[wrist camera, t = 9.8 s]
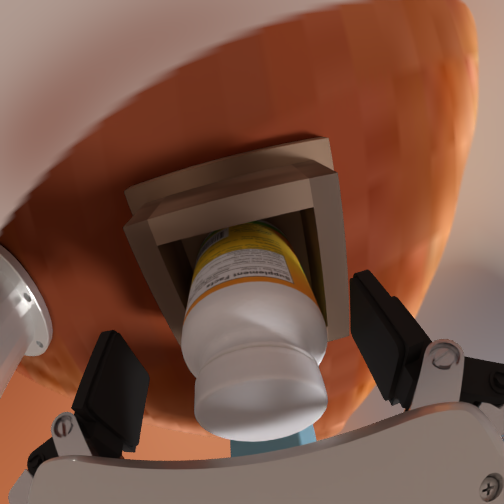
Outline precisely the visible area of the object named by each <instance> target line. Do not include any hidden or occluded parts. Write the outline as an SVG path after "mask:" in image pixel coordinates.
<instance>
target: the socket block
mask: <svg viewBox="0 0 504 504" xmlns="http://www.w3.org/2000/svg"><path fill="white" fill-rule="evenodd" d="M124 194H125V196H126V199H127V202H128V205H129V207H130V210H131V213H132V215H133V217H132V218H131V219H130V220H129V221H128V222H127V223H126V224H125V226H124V227H123V230H124V232H125V235H126V237H127V239H128V242H129V244H130V246H131V249H132V251H133V253H134V256H135V258H136V260H137V262H138V264H139V267H140V269H141V271H142V273H143V275H144V277H145V279H146V282H147V284H148V286H149V288H150V290H151V292H152V294H153V296H154V298H155V300H156V302H157V304H158V306H159V308H160V310H161V312H162V314H163V315H164V317H165V319H166V321H167V323H168V325H169V327H170V329H171V330H172V332H173V334H174V336H175V338H176V339H177V341H178V343H179V345H180V346H181V339H182V329H183V322H184V318H185V313H186V308H187V303H188V298H189V293H190V288H191V283H192V278H193V273H194V269H195V264H196V260H197V256H198V252H199V250H200V247H201V245H202V243H203V241H204V240H205V238H206V237H207V236H208V235H209V233H210V232H212V231H215V230H219V229H223V228H227V227H231V226H235V225H239V224H243V223H248V222H252V221H256V220H263V221H266V222H268V223H270V224H272V225H274V226H275V227H277V228H278V229H279V230H281V231H282V232H283V233H284V235H285V236H286V237H287V239H288V240H289V242H290V244H291V245H292V247H293V249H294V252H295V254H296V256H297V258H298V260H299V263H300V265H301V267H302V269H303V272H304V274H305V276H306V278H307V281H308V283H309V285H310V288H311V290H312V292H313V294H314V297H315V299H316V301H317V304H318V306H319V308H320V311H321V313H322V316H323V319H324V321H325V325H326V329H327V342H329V341H333V340H336V339H340V338H343V337H346V336H349V295H348V273H347V256H346V243H345V232H344V221H343V212H342V203H341V195H340V187H339V179H338V173H337V172H335V171H334V168H333V161H332V155H331V149H330V143H329V138H326V137H318V138H312V139H306V140H300V141H295V142H290V143H285V144H280V145H275V146H270V147H266V148H261V149H257V150H252V151H248V152H244V153H240V154H236V155H232V156H228V157H224V158H220V159H216V160H213V161H209V162H206V163H202V164H198V165H195V166H192V167H188V168H185V169H182V170H178V171H175V172H172V173H169V174H166V175H163V176H160V177H157V178H154V179H151V180H148V181H145V182H142V183H139V184H136V185H133V186H131V187H129V188H128V189H126V190H125V191H124Z"/></svg>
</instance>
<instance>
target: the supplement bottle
mask: <svg viewBox="0 0 504 504" xmlns="http://www.w3.org/2000/svg"><path fill="white" fill-rule="evenodd" d="M326 347H327V329H326V325H325V321H324V319H323V316H322V313H321V311H320V308H319V306H318V304H317V301H316V299H315V297H314V294H313V292H312V290H311V288H310V285H309V283H308V281H307V278H306V276H305V274H304V272H303V269H302V267H301V265H300V263H299V260H298V258H297V256H296V254H295V252H294V249H293V247H292V245H291V244H290V242H289V240H288V239H287V237H286V236H285V235H284V233H283V232H282V231H281V230H279V229H278V228H277V227H275V226H274V225H272V224H270V223H268V222H266V221H263V220H256V221H252V222H248V223H243V224H239V225H235V226H231V227H227V228H223V229H219V230H215V231H212V232H210V233H209V235H208V236H207V237H206V238H205V240H204V241H203V243H202V245H201V247H200V250H199V252H198V256H197V260H196V264H195V269H194V273H193V278H192V283H191V288H190V293H189V298H188V303H187V308H186V313H185V318H184V322H183V329H182V339H181V348H182V353H183V357H184V360H185V362H186V364H187V366H188V368H189V370H190V371H191V373H192V374H193V375H194V376H195V377H196V378H197V379H196V381H195V403H194V413H195V417H196V419H197V421H198V423H199V424H200V425H201V426H202V427H203V428H204V429H205V430H207V431H208V432H210V433H212V434H214V435H216V436H219V437H222V438H226V439H231V440H236V441H250V442H256V441H267V440H274V439H278V438H283V437H286V436H289V435H292V434H295V433H297V432H300V431H302V430H304V429H306V428H307V427H309V426H310V425H312V424H313V423H314V422H316V421H317V420H318V419H319V418H320V417H321V416H322V414H323V413H324V411H325V409H326V407H327V402H328V399H327V393H326V389H325V385H324V382H323V379H322V376H321V373H320V370H319V364H320V362H321V361H322V359H323V356H324V354H325V351H326Z"/></svg>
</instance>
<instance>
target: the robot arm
mask: <svg viewBox="0 0 504 504" xmlns="http://www.w3.org/2000/svg"><path fill="white" fill-rule="evenodd" d="M350 314H351V334H352V337H353V339H354V341H355V342H356V344H357V346H358V348H359V350H360V352H361V354H362V356H363V358H364V360H365V362H366V364H367V366H368V368H369V370H370V372H371V374H372V376H373V378H374V380H375V382H376V384H377V386H378V388H379V390H380V392H381V394H382V396H383V398H384V400H385V401H387V400H389V401H390V403H391V405H392V406H393V405H395V404H398V403H400V404H401V406H402V407H403V408H405V410H404V412H403V413H401V414H398V415H395V416H393V417H390V418H387V419H384V420H381V421H379V422H376V423H373V424H371V425H368V426H365V427H362V428H360V429H357V430H353V431H350V432H347V433H344V434H340V435H337V436H334V437H330V438H327V439H323V440H320V441H316V442H312V443H308V444H304V445H300V446H296V447H291V448H287V449H282V450H277V451H271V452H265V453H260V454H253V455H246V456H239V457H230V458H220V459H208V460H189V461H147V460H130V459H124V457H123V456H122V450H123V451H124V452H135V449H136V446H137V445H138V444H139V439H140V432H141V426H142V419H143V413H144V408H145V402H146V397H147V391H148V386H149V375H148V373H147V371H146V370H145V369H144V367H143V366H142V365H141V363H140V362H139V360H138V359H137V358H136V356H135V355H134V353H133V352H132V351H131V349H130V348H129V346H128V345H127V343H126V342H125V340H124V339H123V337H122V336H121V334H120V333H117V332H116V331H115V330H110V331H105V332H102V333H101V334H100V336H99V338H98V341H97V343H96V345H95V348H94V350H93V352H92V355H91V357H90V360H89V362H88V365H87V367H86V370H85V372H84V375H83V377H82V380H81V382H80V385H79V388H78V390H77V393H76V396H75V399H74V402H73V405H72V407H71V408H72V409H73V410H74V411H75V413H74V415H73V414H72V413H70V412H64V413H61V414H60V415H58V416H57V417H56V418H55V420H54V421H53V423H52V427H51V433H52V437H51V438H50V439H49V440H47V441H46V442H45V443H43V444H42V445H41V446H39V447H38V448H37V449H36V450H34V451H33V452H32V453H31V454H30V456H29V458H28V462H27V466H28V470H27V469H25V471H24V472H23V473H22V475H21V476H20V477H19V479H18V480H17V482H16V483H15V484H14V486H13V487H12V489H11V490H10V492H9V496H8V499H9V503H10V504H504V364H501V363H495V362H490V361H484V360H480V359H474V358H470V357H465V356H464V352H463V350H462V348H461V347H460V346H459V345H458V344H457V343H456V342H454V341H452V340H449V339H439V340H435V341H434V342H432V341H431V340H430V338H429V337H428V336H427V334H426V333H425V332H424V330H423V329H422V328H421V327H420V325H419V324H418V323H417V321H416V320H415V319H414V318H413V316H412V315H411V314H410V313H409V311H408V310H407V309H406V308H405V306H404V305H403V304H402V303H401V301H400V300H399V299H398V298H397V297H395V296H393V297H391V296H390V295H389V293H388V292H387V291H386V290H385V289H384V287H383V286H382V285H381V284H380V282H379V281H378V280H377V279H376V278H375V276H374V275H373V274H372V273H371V272H370V271H369V270H364V271H361V272H358V273H355V274H354V276H353V278H351V279H350ZM52 332H53V330H52V322H51V319H50V315H49V312H48V309H47V307H46V304H45V302H44V300H43V298H42V296H41V294H40V292H39V290H38V288H37V286H36V285H35V283H34V282H33V280H32V279H31V277H30V276H29V274H28V273H27V272H26V270H25V269H24V268H23V267H22V265H21V264H20V263H19V262H18V261H17V260H16V258H15V257H14V256H13V255H12V254H11V253H10V252H9V251H7V250H6V249H5V248H4V247H3V246H1V245H0V398H1V396H2V394H3V392H4V389H5V388H6V386H7V384H8V382H9V380H10V378H11V377H12V375H13V373H14V371H15V370H16V368H17V366H18V364H19V363H20V361H21V359H22V357H23V356H24V355H27V356H37V355H41V354H42V353H44V352H45V350H46V349H47V347H48V346H49V344H50V342H51V340H52ZM499 434H500V435H501V436H500V435H499ZM501 437H502V438H501ZM502 439H503V440H502Z"/></svg>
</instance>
